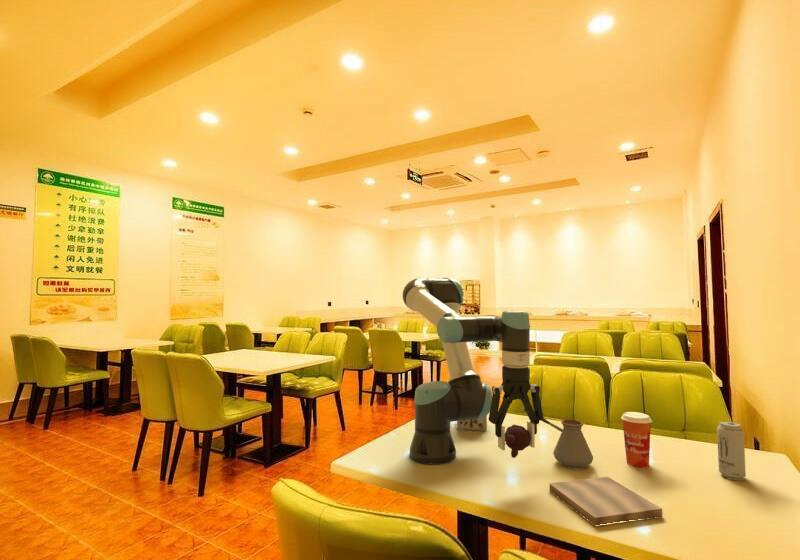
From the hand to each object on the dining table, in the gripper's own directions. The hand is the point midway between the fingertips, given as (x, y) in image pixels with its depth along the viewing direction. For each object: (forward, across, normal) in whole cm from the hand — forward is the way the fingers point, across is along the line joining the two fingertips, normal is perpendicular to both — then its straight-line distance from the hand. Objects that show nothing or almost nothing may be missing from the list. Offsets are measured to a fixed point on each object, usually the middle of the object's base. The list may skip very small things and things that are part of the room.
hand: (516, 446), depth 116 cm
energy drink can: (+10, +62, -11) cm, 64 cm away
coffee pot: (+10, +20, +11) cm, 25 cm away
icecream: (+1, 0, -1) cm, 1 cm away
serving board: (+10, +15, -16) cm, 24 cm away
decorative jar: (+11, +8, +51) cm, 53 cm away
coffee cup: (+10, +43, +3) cm, 44 cm away
